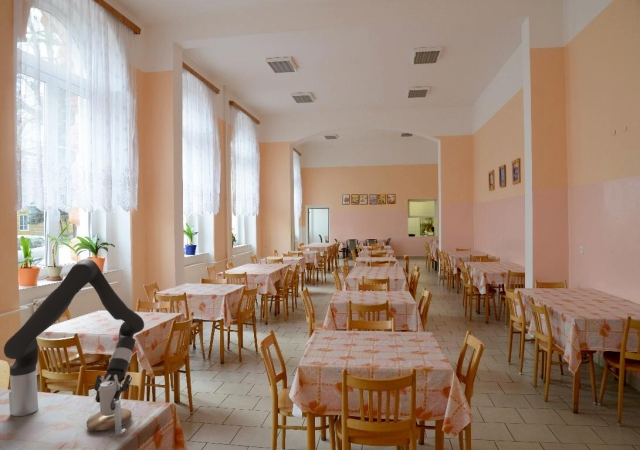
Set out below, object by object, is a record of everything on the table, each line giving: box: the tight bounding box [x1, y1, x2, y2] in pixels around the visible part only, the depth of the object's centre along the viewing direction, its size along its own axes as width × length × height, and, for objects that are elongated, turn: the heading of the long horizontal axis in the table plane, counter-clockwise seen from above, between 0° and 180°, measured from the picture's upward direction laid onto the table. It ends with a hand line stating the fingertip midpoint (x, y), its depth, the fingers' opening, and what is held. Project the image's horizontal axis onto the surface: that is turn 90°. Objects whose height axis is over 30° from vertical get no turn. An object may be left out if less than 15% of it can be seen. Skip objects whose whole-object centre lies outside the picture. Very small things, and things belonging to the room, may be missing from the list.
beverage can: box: [99, 381, 117, 416], centre depth 170 cm, size 6×6×12 cm
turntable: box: [85, 408, 133, 432], centre depth 170 cm, size 16×16×1 cm
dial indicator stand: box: [110, 398, 128, 438], centre depth 162 cm, size 4×5×13 cm
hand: (106, 401), depth 169 cm, fingers closed on beverage can, 6 cm apart
